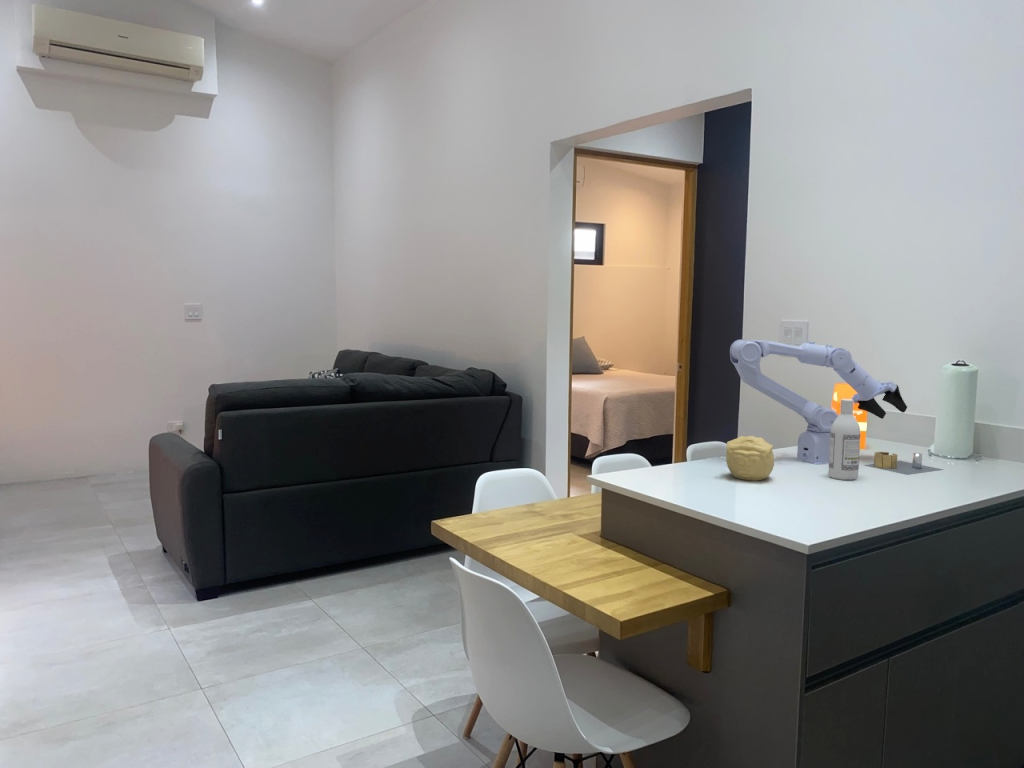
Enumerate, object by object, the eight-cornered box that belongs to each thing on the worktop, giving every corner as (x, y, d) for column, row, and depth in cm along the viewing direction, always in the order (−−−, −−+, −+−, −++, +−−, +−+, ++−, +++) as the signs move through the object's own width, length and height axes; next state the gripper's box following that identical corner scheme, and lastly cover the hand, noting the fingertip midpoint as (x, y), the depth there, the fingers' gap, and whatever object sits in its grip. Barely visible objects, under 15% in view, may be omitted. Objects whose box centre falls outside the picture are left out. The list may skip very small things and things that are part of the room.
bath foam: (863, 478, 190) (867, 399, 188) (849, 482, 186) (854, 402, 184) (836, 473, 195) (840, 397, 193) (823, 477, 191) (827, 399, 189)
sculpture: (721, 479, 187) (722, 437, 186) (731, 470, 198) (732, 430, 196) (769, 485, 182) (771, 441, 181) (776, 475, 192) (778, 434, 191)
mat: (907, 476, 193) (907, 474, 193) (863, 466, 204) (863, 465, 204) (944, 471, 199) (944, 469, 199) (899, 461, 211) (899, 460, 211)
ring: (887, 469, 199) (888, 456, 198) (869, 465, 203) (870, 452, 203) (900, 467, 201) (901, 454, 201) (882, 464, 206) (883, 451, 205)
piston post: (917, 469, 199) (918, 454, 199) (910, 468, 201) (911, 453, 201) (923, 468, 200) (924, 454, 200) (915, 467, 202) (916, 452, 202)
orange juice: (865, 450, 228) (869, 385, 226) (834, 449, 230) (837, 384, 228) (858, 445, 236) (862, 382, 234) (829, 444, 238) (832, 381, 236)
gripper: (885, 362, 203) (920, 396, 204) (846, 377, 216) (880, 408, 217) (874, 380, 200) (910, 414, 201) (836, 394, 214) (870, 426, 214)
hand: (894, 413), depth 209 cm, fingers open, 7 cm apart
